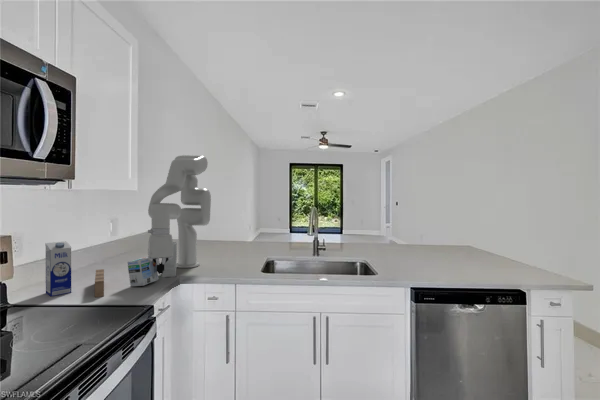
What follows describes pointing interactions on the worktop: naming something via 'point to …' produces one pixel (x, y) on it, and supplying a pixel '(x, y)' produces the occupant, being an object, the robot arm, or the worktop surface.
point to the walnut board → (99, 283)
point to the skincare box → (171, 264)
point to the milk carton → (58, 268)
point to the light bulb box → (142, 271)
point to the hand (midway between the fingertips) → (160, 272)
